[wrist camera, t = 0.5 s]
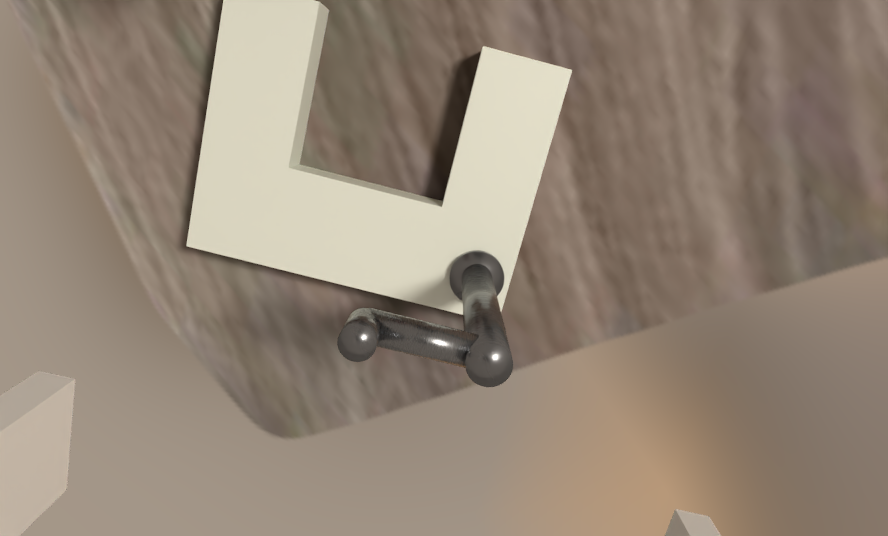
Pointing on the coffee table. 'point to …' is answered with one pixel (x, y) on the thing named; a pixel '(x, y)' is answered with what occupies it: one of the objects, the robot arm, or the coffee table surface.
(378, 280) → the u-shaped block
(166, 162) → the coffee table surface
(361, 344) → the hook post
